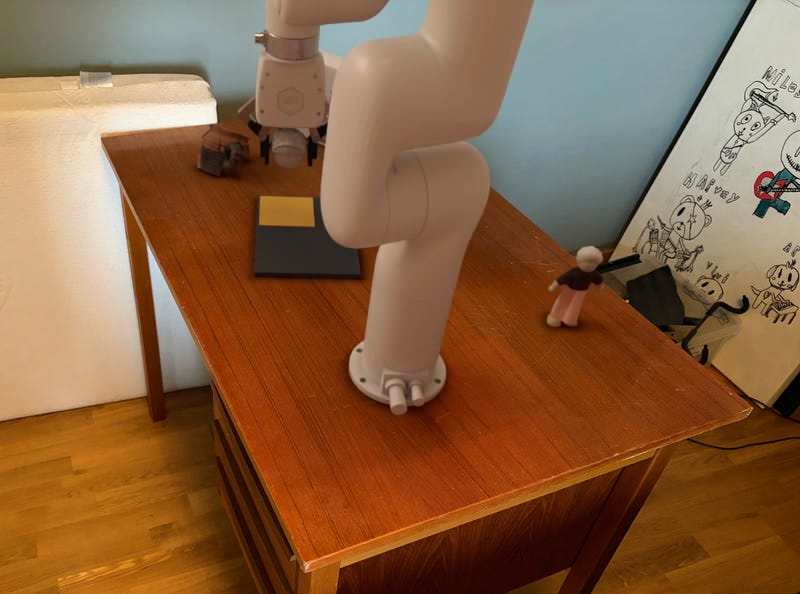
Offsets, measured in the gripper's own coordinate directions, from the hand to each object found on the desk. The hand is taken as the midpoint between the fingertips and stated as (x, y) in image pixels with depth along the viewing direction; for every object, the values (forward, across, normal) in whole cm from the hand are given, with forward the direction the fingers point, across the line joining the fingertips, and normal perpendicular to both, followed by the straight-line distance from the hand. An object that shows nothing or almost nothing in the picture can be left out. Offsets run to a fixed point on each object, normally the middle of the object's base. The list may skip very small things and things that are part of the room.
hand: (288, 160), depth 109 cm
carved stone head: (+1, 0, 0) cm, 1 cm away
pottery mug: (+10, -11, +16) cm, 22 cm away
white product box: (+10, +8, +28) cm, 31 cm away
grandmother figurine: (+10, +40, -26) cm, 49 cm away
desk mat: (+10, +3, -6) cm, 12 cm away
